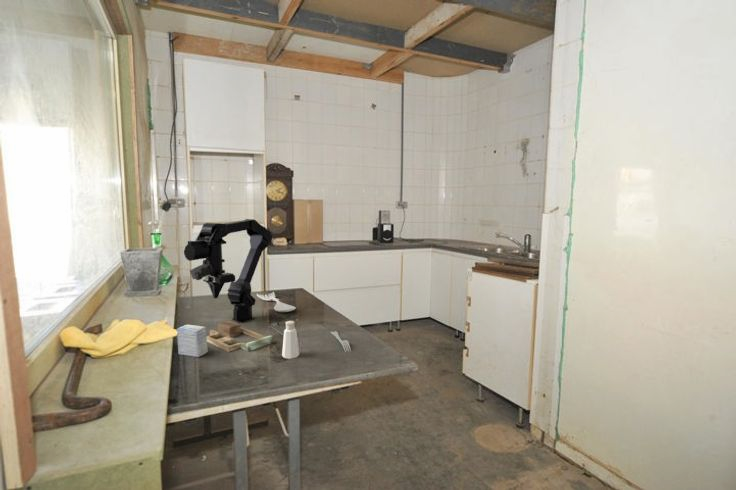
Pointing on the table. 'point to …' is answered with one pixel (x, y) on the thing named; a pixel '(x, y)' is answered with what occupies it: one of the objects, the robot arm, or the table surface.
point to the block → (229, 329)
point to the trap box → (228, 342)
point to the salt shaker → (290, 341)
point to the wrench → (276, 327)
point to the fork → (341, 341)
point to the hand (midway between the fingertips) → (215, 298)
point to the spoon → (279, 306)
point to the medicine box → (192, 340)
